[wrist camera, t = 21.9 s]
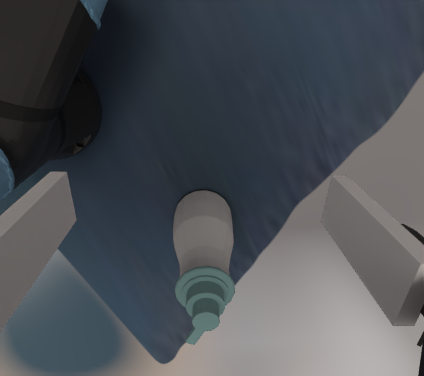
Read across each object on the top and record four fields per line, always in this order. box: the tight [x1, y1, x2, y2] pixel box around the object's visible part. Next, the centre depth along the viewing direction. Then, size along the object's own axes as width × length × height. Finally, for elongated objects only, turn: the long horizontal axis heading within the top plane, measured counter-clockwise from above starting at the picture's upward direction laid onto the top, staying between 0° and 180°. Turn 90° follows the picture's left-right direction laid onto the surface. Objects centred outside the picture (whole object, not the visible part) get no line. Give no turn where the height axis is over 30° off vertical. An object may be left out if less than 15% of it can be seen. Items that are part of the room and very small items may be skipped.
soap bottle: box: [173, 190, 235, 344], centre depth 42 cm, size 10×10×23 cm
